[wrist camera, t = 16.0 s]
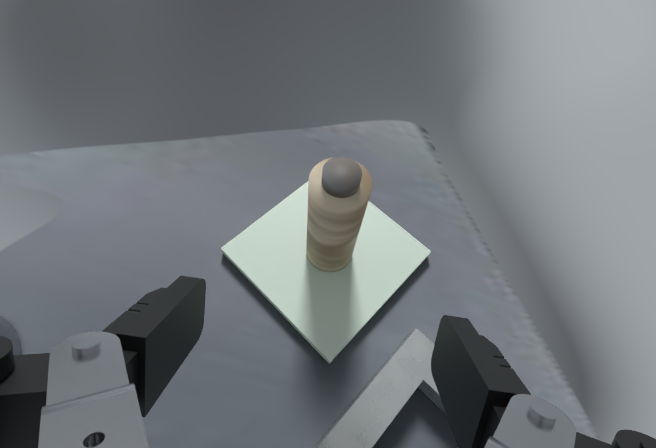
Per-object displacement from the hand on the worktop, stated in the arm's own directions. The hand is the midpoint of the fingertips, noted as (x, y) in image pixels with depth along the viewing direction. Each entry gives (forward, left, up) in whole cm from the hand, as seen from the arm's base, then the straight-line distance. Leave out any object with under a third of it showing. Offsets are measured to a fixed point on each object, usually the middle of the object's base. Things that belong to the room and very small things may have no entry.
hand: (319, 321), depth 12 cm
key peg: (+8, +6, -16) cm, 19 cm away
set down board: (+8, +6, -17) cm, 20 cm away
